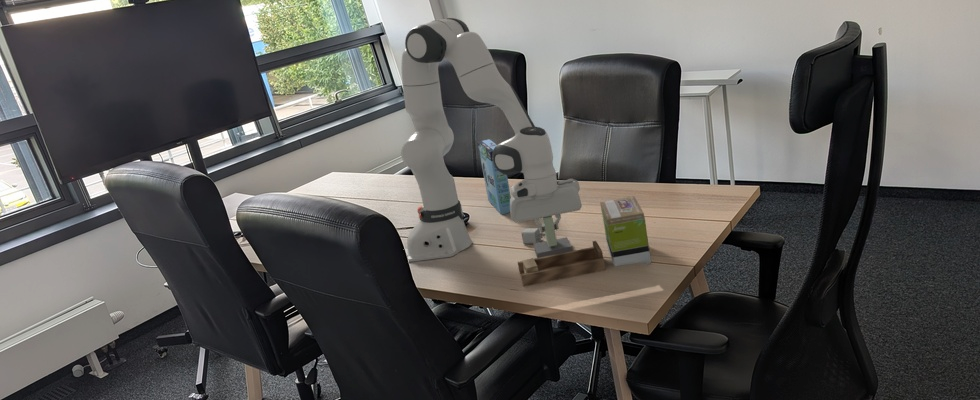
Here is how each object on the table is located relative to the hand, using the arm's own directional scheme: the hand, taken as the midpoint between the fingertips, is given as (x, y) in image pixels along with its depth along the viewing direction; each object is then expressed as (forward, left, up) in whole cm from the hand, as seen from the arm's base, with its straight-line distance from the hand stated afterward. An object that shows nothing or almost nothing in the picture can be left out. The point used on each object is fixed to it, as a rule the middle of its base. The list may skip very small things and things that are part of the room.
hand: (549, 230), depth 213 cm
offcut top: (-8, -15, -5) cm, 18 cm away
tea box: (+19, -12, -8) cm, 24 cm away
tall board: (0, 0, -4) cm, 4 cm away
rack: (0, -15, -8) cm, 17 cm away
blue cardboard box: (-11, +56, -8) cm, 57 cm away
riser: (0, 0, -8) cm, 8 cm away
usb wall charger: (-3, +13, -8) cm, 16 cm away
